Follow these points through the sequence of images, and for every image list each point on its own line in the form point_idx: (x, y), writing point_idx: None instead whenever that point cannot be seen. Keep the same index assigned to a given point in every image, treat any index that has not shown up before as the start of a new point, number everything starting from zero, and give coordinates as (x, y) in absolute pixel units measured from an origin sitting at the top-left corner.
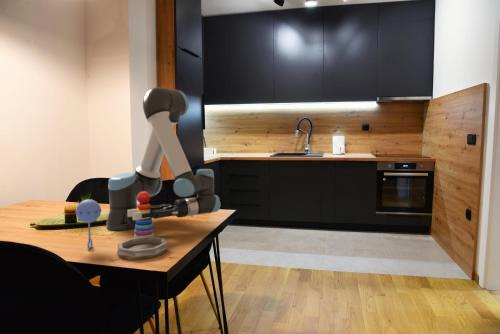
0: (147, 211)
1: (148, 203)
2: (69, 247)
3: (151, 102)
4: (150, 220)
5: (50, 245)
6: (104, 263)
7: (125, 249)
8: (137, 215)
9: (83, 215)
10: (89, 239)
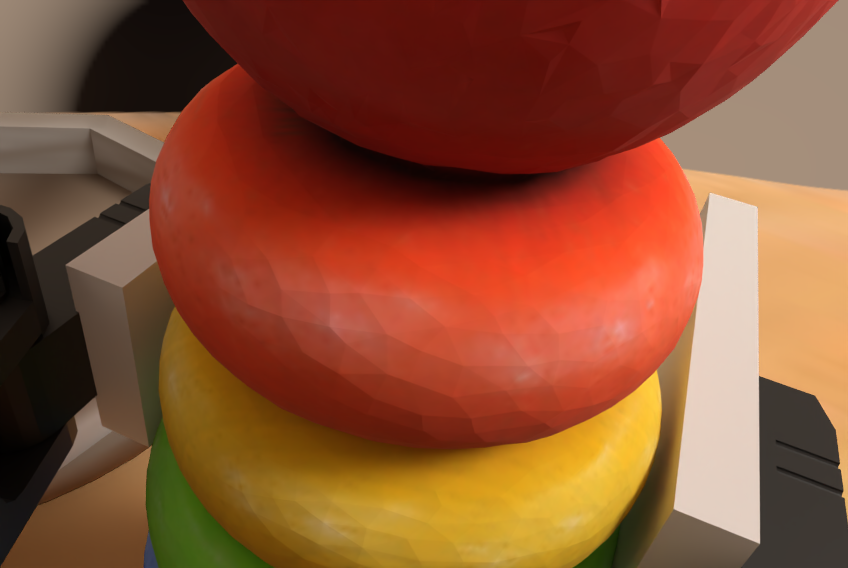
0: (120, 229)
1: (281, 175)
2: None
3: None
4: (149, 543)
5: (806, 204)
6: (153, 119)
7: (44, 118)
8: None
9: None
10: None
